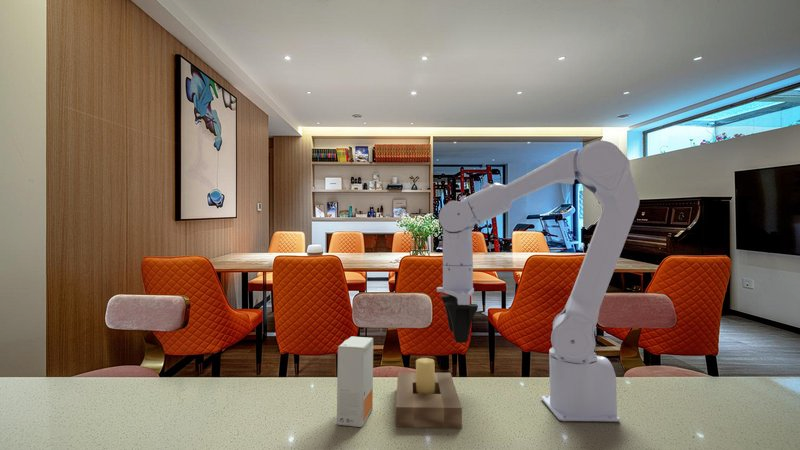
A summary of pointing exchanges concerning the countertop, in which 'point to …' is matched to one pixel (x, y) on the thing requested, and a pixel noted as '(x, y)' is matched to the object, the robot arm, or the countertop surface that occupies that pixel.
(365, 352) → the skincare box
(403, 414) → the socket block
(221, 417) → the countertop surface
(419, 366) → the peg
